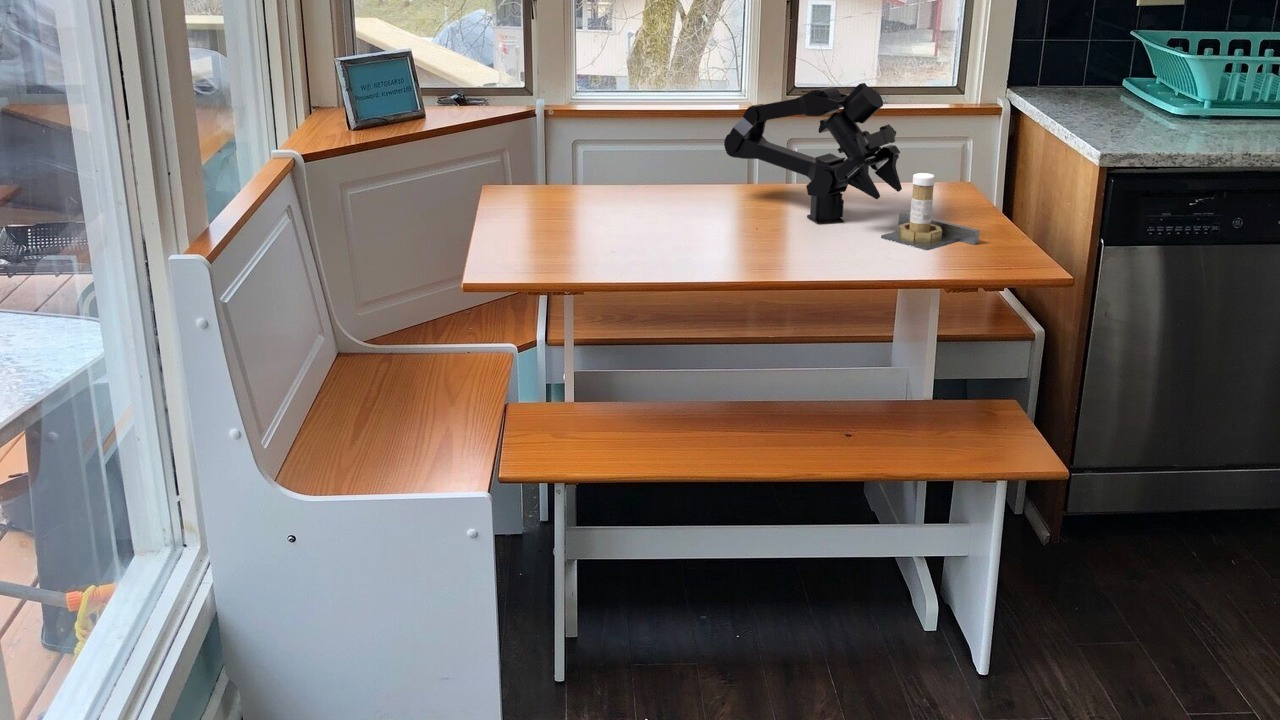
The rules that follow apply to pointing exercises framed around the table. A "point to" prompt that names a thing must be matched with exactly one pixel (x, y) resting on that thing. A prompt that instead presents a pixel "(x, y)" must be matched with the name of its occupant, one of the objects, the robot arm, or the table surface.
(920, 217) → the sprinkles bottle
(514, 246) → the table surface
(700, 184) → the table surface
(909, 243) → the plate
